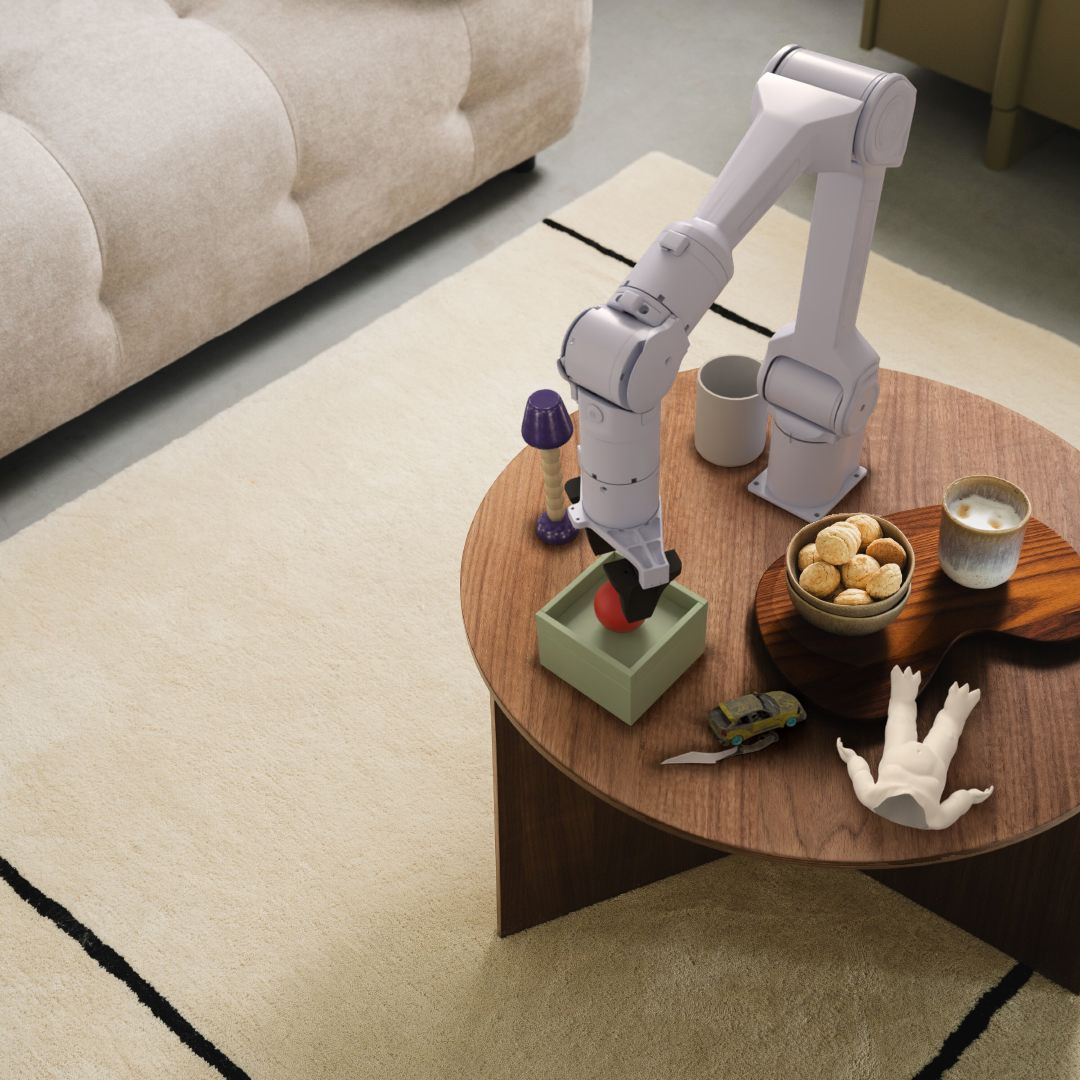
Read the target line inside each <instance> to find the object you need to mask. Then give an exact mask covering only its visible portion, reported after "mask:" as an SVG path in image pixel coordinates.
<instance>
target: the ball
mask: <svg viewBox="0 0 1080 1080" xmlns="http://www.w3.org/2000/svg"><path fill="white" fill-rule="evenodd" d="M594 610H595V614H596V617H597V619H598V620H599V622H600V623H601V624H602V625H603V626H604V627H605V628H607V629H609V630H611V631H613V632H617V633H626V632H630V631H633V630H635V629H637V628H638V627H640V626H641V625H642V624H643V623H644V621H645V620H646V619H643V620H640V621H637V622H633V623H628V622H627V620H626V618H625V616H624V614H623V612H622V609H621V604H620V599H619V595H618V592H616V590H615V589H614V588H613V586H612V585H611V583H610V581H609V580H608V581H607V582H605V583H604V584H603V585H602V586H601V587H600V588H599V590H598V591H597V593H596V596H595V599H594Z"/></svg>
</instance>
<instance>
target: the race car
mask: <svg viewBox="0 0 1080 1080" xmlns="http://www.w3.org/2000/svg"><path fill="white" fill-rule="evenodd" d="M717 704H718V705H717V706H716V707H713V709H711V710H709V714H708V716H707V720H706V722H707V723H708V726H709V727H708V729H709V730H710V732H711V733H712V735H713V736H714V738H715V739H716V741H717V742H718V744H722V746H724V747H727V746H730V744H731V745H732V746H734V747H736V746H737V745H739V744H742V743H743V741H745V740H748V739H750V738H752V737H753V736H756V735H759V734H763V733H766V732H769V731H768V730H774V729H777V728H784V727H785V726H786V727H788V728H793V727H794V726H795V725H796V724H797V723H800V722H802V721H805V720H806V719H807V713H806V711H805V710H804V708H803V706H802V704H801V703H800V701H799V700H798V698H796V697H795V696H794V695H792V694H791V693H788V692H786V691H782V690H778V691H770V692H765V693H758V692H757V691H752V693H750V694H746V695H742V696H739V697H738V696H737V697H735V698H732V699H729V700H727V701H725V702H717Z"/></svg>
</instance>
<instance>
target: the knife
mask: <svg viewBox="0 0 1080 1080" xmlns="http://www.w3.org/2000/svg"><path fill="white" fill-rule="evenodd" d="M767 732H768V733H767V734H760V735H758V736H757V740H758V741H756V742H754V743H752V744H749V745H746V744H742V743H741V744H739V745H737V746H734V747H732V748H730V749H729V748H728V749H725V750H723V751H720V752H700V751H699V752H697V751H689V752H687V753H684V754H679V755H676V756H674V757H671V758H668V759H666V760H664V761H662V762H661V763H660V765H664V764H665V765H666V764H716V763H717V761H721V760H724V759H727V758H731V757H734V756H739V755H742V754H743V755H744V754H748V753H753V752H758V751H761V750H762V749H764V748H766V747H768V746H769V745H771V744H773V743H776V742H777V743H778V741H779V738H780V737H779V734H778V733H777V732H776V731H774V730H773V729H771V730H768V731H767ZM761 737H763V738H764V739H760V738H761Z"/></svg>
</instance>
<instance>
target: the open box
mask: <svg viewBox="0 0 1080 1080" xmlns="http://www.w3.org/2000/svg"><path fill="white" fill-rule="evenodd" d="M623 558H625V557H624V556H623V555H622V554H621V553H619V552H618V551H617V550H616V551H613V552H609V553H606V554H602V555H600V556H599V557H598V558H597V559H596V560H594V562H592V563H591V564H590V565H589V566H588V567H586V569H584V570H583V571H582V572H581V573H580V574H579V575H578V576H576V577H575V578H574V579H573V580H572V581H571V582H570V583H569V584H567V585H566V586H565V587H564V588H563V589H562V590H560V592H558V593H557V594H556V595H555V596H554V597H553V598H551V600H549V601H548V602H547V603H546V604H545V605H544V606H543V607H542V608H540V609H539V610H538V611H537V612H536V613H535V614H534V615H535V625H536V626H535V627H536V633H537V635H536V636H537V646H538V656H539V664H540V665H541V666H542V667H544V668H546V669H547V670H548V671H550V672H552V673H553V674H554V675H556V676H557V677H558V678H560V679H562V680H563V681H564V682H566V683H567V684H569V685H570V686H572V687H573V688H574V689H576V690H577V691H579V692H580V693H581V694H583V695H585V696H586V697H587V698H589V699H590V700H592V701H593V702H595V703H596V704H597V705H599V706H601V707H602V708H604V709H605V710H607V712H609V713H611V714H612V715H613V716H615V717H617V718H618V719H619V720H621V721H622V722H624V723H625V724H626V725H628V726H629V727H632V726H633V724H634V723H636V722H637V721H638V720H639V719H640V718H641V717H642V716H643V714H644V713H646V712H647V710H648V709H650V708H651V706H653V704H654V703H656V701H657V700H658V699H660V698H661V696H663V694H664V693H666V691H668V689H669V688H670V687H671V686H672V685H674V683H675V682H676V681H677V680H678V679H680V677H681V676H682V675H683V674H684V673H685V672H686V671H687V670H688V669H690V667H691V666H692V665H693V664H694V663H695V661H697V660H698V659H699V658H700V657H701V656H702V655H703V654H704V653H705V651H706V650H705V649H706V637H707V636H706V635H707V634H706V633H707V622H708V609H709V600H708V599H705V598H704V597H702V596H701V595H700V594H698V593H696V592H694V591H692V590H691V589H689V588H688V587H686V586H684V585H683V584H680V583H679V582H678V581H675V579H674V580H673V581H672V582H671V583H670V584H669V585H668V586H667V587H666V588H665V590H664V591H663V592H662V594H661V596H660V598H659V601H658V603H657V605H656V608H655V610H654V612H653V615H652V616H651V617H650V618H647V619H646V620H645V621H644V623H643V624H642V625H641V626H640V627H638V628H637V629H635V630H633V631H630V632H626V633H617V632H613V631H611V630H609V629H607V628H605V627H604V626H603V625H602V624H601V623H600V622H599V620H598V619H597V617H596V614H595V610H594V599H595V596H596V593H597V591H598V590H599V588H600V587H601V586H602V585H603V584H604V583H605V582H607V581H608V580H609V579H608V577H607V575H606V573H605V571H604V569H603V564H605V563H609V562H612V561H616V560H620V559H623Z"/></svg>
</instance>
